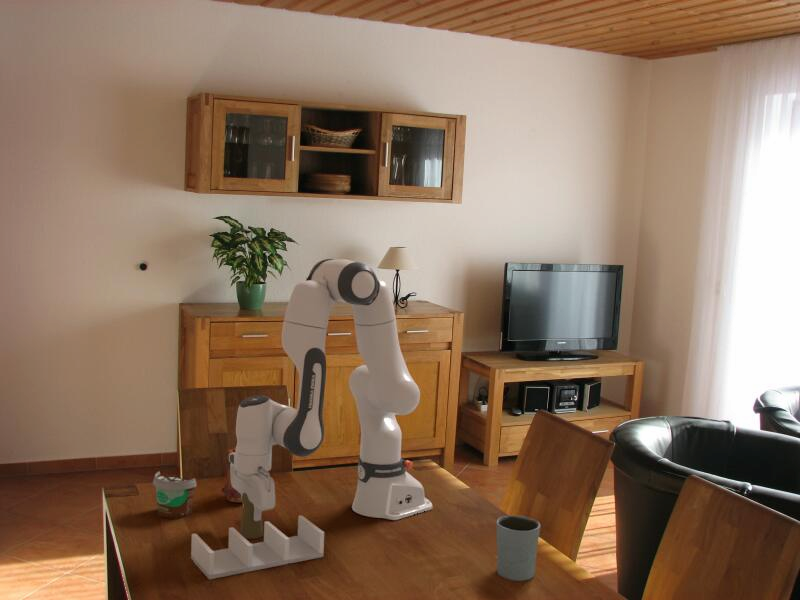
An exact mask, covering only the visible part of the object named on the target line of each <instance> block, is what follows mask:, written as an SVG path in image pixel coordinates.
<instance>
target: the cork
mask: <svg viewBox="0 0 800 600" xmlns="http://www.w3.org/2000/svg"><path fill="white" fill-rule="evenodd" d="M243 504H244V506H243ZM254 509H255V508H254V504H252V503H251V502H250V501H249V499H248V496H247V494H246V493H243V495H242V512H241V519H240V526H239V531H238V532H239V533H240V534H241V535H242V536H243V537H244V538H245V539H246V540H249V539H251V540H252V539H258V538H262V537H264V524H263V518H262V517H263V516H262V514H261V520H260V521H254V520H253V519H252V513H253V512H254Z"/></svg>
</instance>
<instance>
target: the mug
mask: <svg viewBox="0 0 800 600" xmlns="http://www.w3.org/2000/svg"><path fill="white" fill-rule="evenodd" d="M235 449H236V447H233V448H231V449H228V450H227V457H226V460H225V461H224V462H223V463H222V466H223V467H224V468H225V469H226V484H225V485H224V486H223V487H222V488H221V492H222V494H224V495H225V496H226V500H227V501H229V502H231V503H236V504H237V503H238V504H240V503H242V499H241V494H240V493H239V492H238V491H237V490H235V489H234V488H233V487H232V484H231V477H230V464H231V462H230V461H229V454H230V453H234V452H235ZM242 504H243V503H242Z"/></svg>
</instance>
